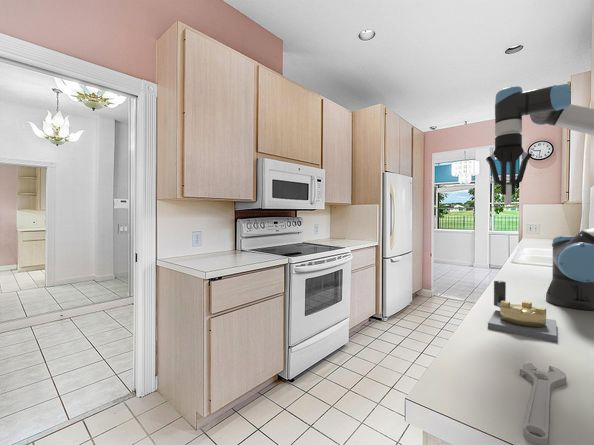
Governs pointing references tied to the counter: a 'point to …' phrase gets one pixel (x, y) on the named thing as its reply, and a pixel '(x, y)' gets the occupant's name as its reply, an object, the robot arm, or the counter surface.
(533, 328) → the base
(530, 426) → the adjustable wrench
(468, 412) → the counter surface
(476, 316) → the counter surface
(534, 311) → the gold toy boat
